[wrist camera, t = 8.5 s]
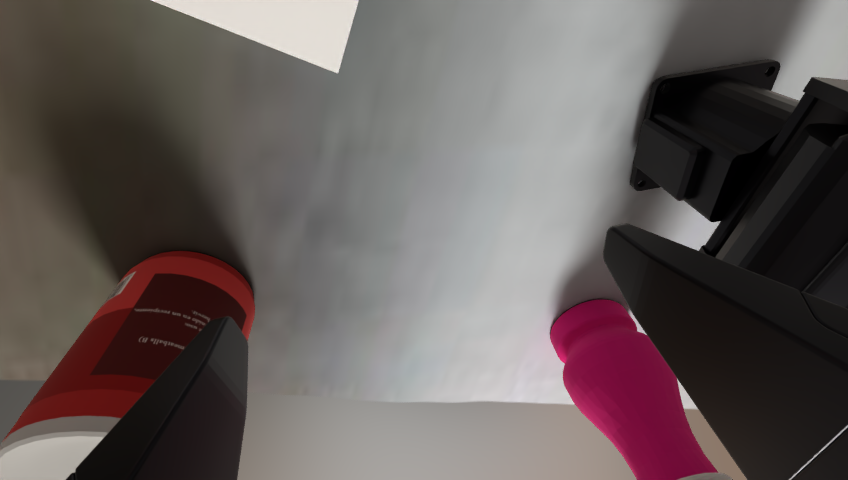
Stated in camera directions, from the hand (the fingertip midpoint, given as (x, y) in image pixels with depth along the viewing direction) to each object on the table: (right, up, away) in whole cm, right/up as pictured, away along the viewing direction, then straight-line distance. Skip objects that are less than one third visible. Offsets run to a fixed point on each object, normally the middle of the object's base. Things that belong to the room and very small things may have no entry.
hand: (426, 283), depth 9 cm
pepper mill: (+13, -6, +23) cm, 27 cm away
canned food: (-15, -2, +16) cm, 22 cm away
